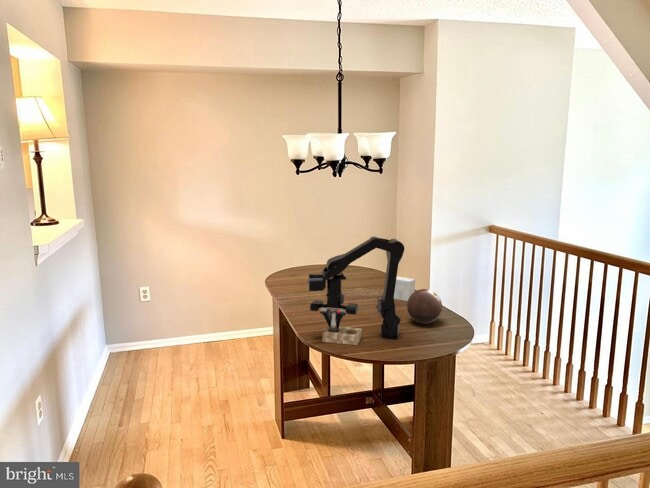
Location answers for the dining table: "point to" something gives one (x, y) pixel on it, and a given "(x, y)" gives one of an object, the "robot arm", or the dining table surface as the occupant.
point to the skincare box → (404, 288)
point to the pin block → (343, 335)
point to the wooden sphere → (424, 306)
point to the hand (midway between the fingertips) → (334, 327)
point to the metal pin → (333, 321)
